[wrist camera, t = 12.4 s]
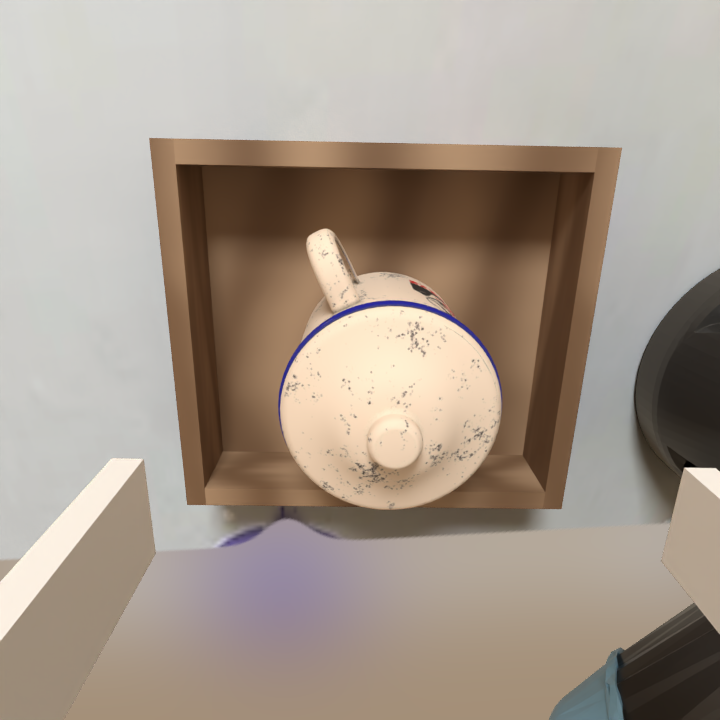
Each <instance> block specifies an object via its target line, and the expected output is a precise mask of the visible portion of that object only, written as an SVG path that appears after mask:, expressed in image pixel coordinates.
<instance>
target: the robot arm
mask: <svg viewBox="0 0 720 720" xmlns="http://www.w3.org/2000/svg"><path fill="white" fill-rule="evenodd" d="M636 409H637V415H638V420H639V423H640V427H641V429H642V432H643V434H644V436H645V439H646V440H647V442H648V444H649V446H650V447H651V448H652V450H653V451H654V453H655V454H656V455H657V456H658V457H659V458H660V459H661V460H662V461H663V462H664V463H665V464H666V465H667V466H668V467H669V468H671V469H672V470H673V471H674V472H675V473H676V474H677V475H678V476H679V477H680V478H681V482H680V486H679V490H678V495H677V499H676V503H675V507H674V511H673V515H672V519H671V523H670V527H669V531H668V535H667V540H666V544H665V548H664V552H663V556H662V560H661V561H662V563H663V564H664V565H665V566H666V568H667V569H668V570H669V571H670V572H671V574H672V575H673V576H674V578H675V579H676V580H677V581H678V583H679V584H680V585H681V586H682V588H683V589H684V590H685V591H686V593H687V594H688V595H689V596H690V598H691V599H692V600H693V601H694V603H693V604H692V605H690V606H689V607H687V608H686V609H685V610H683V611H682V612H680V613H679V614H677V615H676V616H674V617H673V618H671V619H670V620H669V621H667V622H666V623H664V624H663V625H661V626H660V627H658V628H657V629H656V630H654V631H653V632H651V633H650V634H648V635H647V636H645V637H644V638H642V639H641V640H640V641H638V642H637V643H635V644H634V645H632V646H631V647H629V648H628V649H626V650H623V649H622V648H618V649H616V650H614V651H612V652H611V654H610V656H609V657H608V659H607V662H606V664H605V665H604V666H602V667H601V668H600V669H599V670H597V671H596V672H595V673H594V674H592V675H591V676H590V677H589V678H587V679H586V680H585V681H583V682H582V683H581V684H580V685H578V686H577V687H576V688H575V689H574V690H572V691H571V692H569V693H568V694H567V695H566V696H564V697H563V698H562V700H560V702H559V703H558V704H557V705H556V706H555V708H554V710H553V712H552V714H551V716H550V718H549V720H720V269H718V270H717V271H715V272H714V273H712V274H710V275H709V276H707V277H706V278H705V279H703V280H702V281H700V282H699V283H698V284H697V285H695V286H694V287H693V288H692V289H690V290H689V291H688V292H687V293H686V294H685V295H684V296H683V297H682V298H681V299H680V300H679V301H678V302H677V303H676V304H675V305H674V306H673V307H672V309H671V310H670V311H669V312H668V313H667V315H666V316H665V317H664V319H663V320H662V321H661V323H660V324H659V326H658V327H657V329H656V331H655V332H654V334H653V336H652V338H651V340H650V342H649V344H648V346H647V348H646V350H645V353H644V355H643V358H642V361H641V364H640V368H639V372H638V377H637V384H636ZM155 554H156V552H155V544H154V537H153V529H152V521H151V513H150V505H149V497H148V490H147V482H146V474H145V466H144V459H116V458H112V459H111V460H110V461H109V462H108V463H107V464H106V465H105V467H104V468H103V469H102V470H101V471H100V472H99V473H98V474H97V475H96V477H95V478H94V479H93V480H92V481H91V482H90V483H89V484H88V485H87V486H86V488H85V489H84V490H83V491H82V492H81V493H80V494H79V495H78V496H77V498H76V499H75V500H74V501H73V502H72V503H71V504H70V505H69V506H68V508H67V509H66V510H65V511H64V512H63V513H62V514H61V515H60V516H59V518H58V519H57V520H56V521H55V522H54V523H53V524H52V525H51V526H50V527H49V529H48V530H47V531H46V532H45V533H44V534H43V535H42V536H41V537H40V539H39V540H38V541H37V542H36V543H35V544H34V545H33V546H32V547H31V549H30V550H29V551H28V552H27V553H26V554H25V555H24V556H23V557H22V558H21V560H20V561H19V562H18V563H17V564H16V565H15V566H14V568H12V570H11V571H10V572H9V573H8V574H7V575H6V576H5V577H4V578H3V580H2V581H1V582H0V720H64V719H65V717H66V715H67V713H68V711H69V710H70V708H71V706H72V704H73V702H74V700H75V699H76V697H77V695H78V693H79V692H80V690H81V688H82V686H83V684H84V682H85V681H86V679H87V677H88V675H89V673H90V672H91V670H92V668H93V666H94V664H95V663H96V661H97V659H98V657H99V655H100V653H101V651H102V650H103V648H104V646H105V644H106V643H107V641H108V639H109V637H110V635H111V634H112V632H113V630H114V628H115V626H116V624H117V623H118V621H119V619H120V617H121V615H122V614H123V612H124V610H125V608H126V606H127V605H128V603H129V601H130V599H131V597H132V595H133V594H134V592H135V590H136V588H137V586H138V584H139V583H140V581H141V579H142V577H143V576H144V574H145V572H146V570H147V568H148V566H149V565H150V563H151V561H152V559H153V557H154V556H155Z"/></svg>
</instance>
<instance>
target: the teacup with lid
mask: <svg viewBox="0 0 720 720" xmlns="http://www.w3.org/2000/svg"><path fill="white" fill-rule="evenodd" d="M306 249H307V254H308V257H309V260H310V263H311V266H312V268H313V271H314V273H315V276H316V278H317V281H318V283H319V285H320V287H321V289H322V292H323V294H324V297H323V298H322V300H321V301H320V302H319V303H318V304H317V306H316V307H315V309H314V310H313V312H312V314H311V316H310V318H309V321H308V323H307V326H306V329H305V332H304V334H303V337H302V340H301V343H300V345H299V346H298V347H297V349H296V350H295V352H294V353H293V355H292V357H291V359H290V360H289V362H288V364H287V367H286V369H285V372H284V374H283V378H282V381H281V385H280V390H279V399H278V414H279V421H280V426H281V430H282V434H283V437H284V440H285V442H286V445H287V447H288V449H289V451H290V453H291V455H292V456H293V458H294V460H295V461H296V463H297V464H298V466H299V467H300V468H301V470H302V471H303V472H304V473H305V474H306V475H307V476H308V477H309V478H310V479H311V480H312V481H313V482H314V483H315V484H316V485H318V486H319V487H320V488H322V489H323V490H325V491H326V492H328V493H329V494H331V495H333V496H335V497H337V498H339V499H341V500H343V501H345V502H348V503H351V504H354V505H357V506H361V507H366V508H371V509H380V510H397V509H406V508H412V507H417V506H421V505H424V504H427V503H430V502H433V501H435V500H437V499H440V498H442V497H443V496H445V495H447V494H449V493H451V492H452V491H454V490H455V489H457V488H458V487H459V486H461V485H462V484H463V483H464V482H466V481H467V480H468V479H469V478H470V477H471V476H472V475H473V474H474V473H475V472H476V470H477V469H478V468H479V467H480V466H481V464H482V463H483V462H484V460H485V459H486V457H487V455H488V454H489V452H490V450H491V448H492V446H493V444H494V442H495V439H496V436H497V433H498V429H499V425H500V420H501V414H502V389H501V383H500V379H499V375H498V372H497V369H496V366H495V364H494V362H493V360H492V357H491V356H490V354H489V352H488V351H487V349H486V347H485V346H484V345H483V343H482V342H481V341H480V339H479V338H478V337H477V336H476V335H475V334H474V333H473V332H472V331H471V330H470V329H469V328H468V327H466V326H465V325H464V324H463V323H461V322H460V321H458V320H457V318H456V317H455V315H454V314H453V313H452V311H451V310H450V309H449V307H448V306H447V305H446V303H445V302H444V301H443V299H442V298H441V297H440V296H439V295H438V294H437V293H436V292H435V291H434V290H432V289H431V288H430V287H428V286H427V285H426V284H424V283H422V282H420V281H418V280H416V279H414V278H412V277H409V276H406V275H402V274H397V273H390V272H375V273H368V274H363V275H359V276H357V275H356V273H355V270H354V268H353V266H352V264H351V262H350V260H349V258H348V256H347V254H346V252H345V250H344V248H343V246H342V244H341V242H340V241H339V239H338V238H337V236H336V235H335V234H334V232H332V231H331V230H329V229H321V230H319V231H317V232H315V233H313V234H311V235H310V236H309V237H308V238H307V242H306Z"/></svg>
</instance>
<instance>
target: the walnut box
mask: <svg viewBox="0 0 720 720" xmlns="http://www.w3.org/2000/svg"><path fill="white" fill-rule="evenodd" d="M149 140H150V150H151V159H152V169H153V178H154V188H155V198H156V207H157V217H158V227H159V236H160V246H161V256H162V265H163V275H164V285H165V294H166V304H167V314H168V323H169V333H170V343H171V352H172V362H173V372H174V381H175V391H176V401H177V410H178V420H179V430H180V439H181V449H182V459H183V468H184V478H185V487H186V497H187V505H256V506H343V507H361V506H357V505H354V504H351V503H348V502H345V501H343V500H341V499H339V498H337V497H335V496H333V495H331V494H329V493H328V492H326V491H325V490H323V489H322V488H320V487H319V486H318V485H316V484H315V483H314V482H313V481H312V480H311V479H310V478H309V477H308V476H307V475H306V474H305V473H304V472H303V471H302V470H301V468H300V467H299V466H298V464H297V463H296V461H295V460H294V458H293V456H292V455H291V453H290V451H289V449H288V447H287V445H286V442H285V440H284V437H283V434H282V430H281V426H280V421H279V414H278V399H279V390H280V385H281V381H282V378H283V374H284V372H285V369H286V367H287V364H288V362H289V360H290V359H291V357H292V355H293V353H294V352H295V350H296V349H297V347H298V346H299V345H300V343H301V340H302V337H303V334H304V332H305V329H306V326H307V323H308V321H309V318H310V316H311V314H312V312H313V310H314V309H315V307H316V306H317V304H318V303H319V302H320V301H321V300H322V298H323V297H324V294H323V292H322V289H321V287H320V285H319V283H318V281H317V278H316V276H315V273H314V271H313V268H312V266H311V263H310V260H309V257H308V254H307V249H306V242H307V238H308V237H309V236H310V235H311V234H313V233H315V232H317V231H319V230H321V229H329V230H331V231H332V232H334V234H335V235H336V236H337V238H338V239H339V241H340V242H341V244H342V246H343V248H344V250H345V252H346V254H347V256H348V258H349V260H350V262H351V264H352V266H353V268H354V270H355V273H356V275H357V276H359V275H363V274H368V273H375V272H390V273H397V274H402V275H406V276H409V277H412V278H414V279H416V280H418V281H420V282H422V283H424V284H426V285H427V286H428V287H430V288H431V289H432V290H434V291H435V292H436V293H437V294H438V295H439V296H440V297H441V298H442V299H443V301H444V302H445V303H446V305H447V306H448V307H449V309H450V310H451V311H452V313H453V314H454V315H455V317H456V318H457V320H458V321H460V322H461V323H463V324H464V325H465V326H466V327H468V328H469V329H470V330H471V331H472V332H473V333H474V334H475V335H476V336H477V337H478V338H479V339H480V341H481V342H482V343H483V345H484V346H485V347H486V349H487V351H488V352H489V354H490V356H491V357H492V360H493V362H494V364H495V366H496V369H497V372H498V375H499V379H500V383H501V389H502V414H501V420H500V425H499V429H498V433H497V436H496V439H495V442H494V444H493V446H492V448H491V450H490V452H489V454H488V455H487V457H486V459H485V460H484V462H483V463H482V464H481V466H480V467H479V468H478V469H477V470H476V472H475V473H474V474H473V475H472V476H471V477H470V478H469V479H468V480H467V481H466V482H464V483H463V484H462V485H461V486H459V487H458V488H457V489H455V490H454V491H452V492H451V493H449V494H447V495H445V496H443V497H442V498H440V499H437V500H435V501H433V502H430V503H427V504H424V505H421V506H417V507H430V508H517V509H561V508H562V502H563V496H564V490H565V484H566V478H567V472H568V466H569V460H570V455H571V449H572V443H573V437H574V431H575V425H576V419H577V413H578V407H579V401H580V395H581V389H582V383H583V377H584V371H585V365H586V359H587V353H588V347H589V341H590V335H591V329H592V323H593V317H594V311H595V306H596V300H597V294H598V288H599V282H600V276H601V270H602V264H603V258H604V252H605V246H606V240H607V234H608V228H609V222H610V216H611V210H612V204H613V198H614V192H615V186H616V180H617V174H618V168H619V162H620V157H621V151H622V148H607V147H557V146H508V145H459V144H410V143H361V142H312V141H263V140H214V139H165V138H149Z"/></svg>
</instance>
